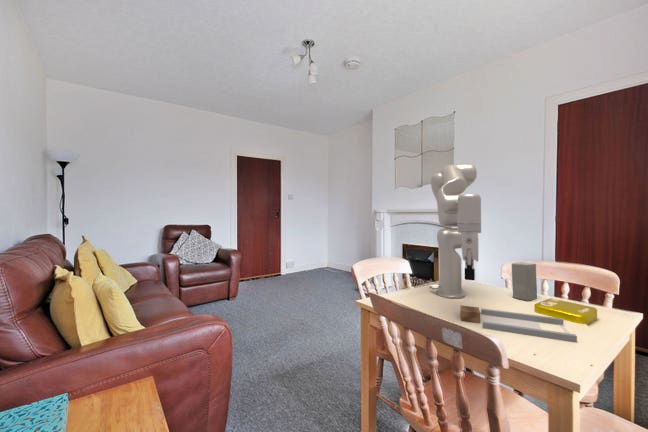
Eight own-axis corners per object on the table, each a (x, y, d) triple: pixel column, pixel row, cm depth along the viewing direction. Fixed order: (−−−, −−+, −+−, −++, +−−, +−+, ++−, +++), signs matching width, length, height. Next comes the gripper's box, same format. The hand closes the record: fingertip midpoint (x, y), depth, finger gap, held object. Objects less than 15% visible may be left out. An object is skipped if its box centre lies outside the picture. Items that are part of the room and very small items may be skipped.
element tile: (583, 329, 95) (583, 315, 95) (532, 315, 108) (532, 303, 108) (599, 319, 103) (599, 306, 103) (549, 308, 116) (549, 296, 115)
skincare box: (527, 301, 122) (527, 265, 122) (510, 297, 129) (510, 262, 128) (538, 298, 126) (538, 263, 126) (521, 294, 133) (520, 260, 132)
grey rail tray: (482, 331, 94) (482, 322, 94) (481, 316, 107) (481, 308, 107) (576, 346, 83) (576, 336, 83) (562, 327, 96) (562, 318, 96)
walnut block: (461, 324, 100) (461, 310, 100) (460, 318, 105) (460, 305, 105) (480, 327, 97) (480, 312, 97) (478, 321, 103) (478, 307, 103)
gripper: (481, 230, 93) (482, 285, 93) (480, 227, 106) (481, 276, 107) (456, 229, 97) (457, 283, 97) (458, 227, 110) (459, 274, 110)
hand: (469, 279), depth 102 cm, fingers closed
